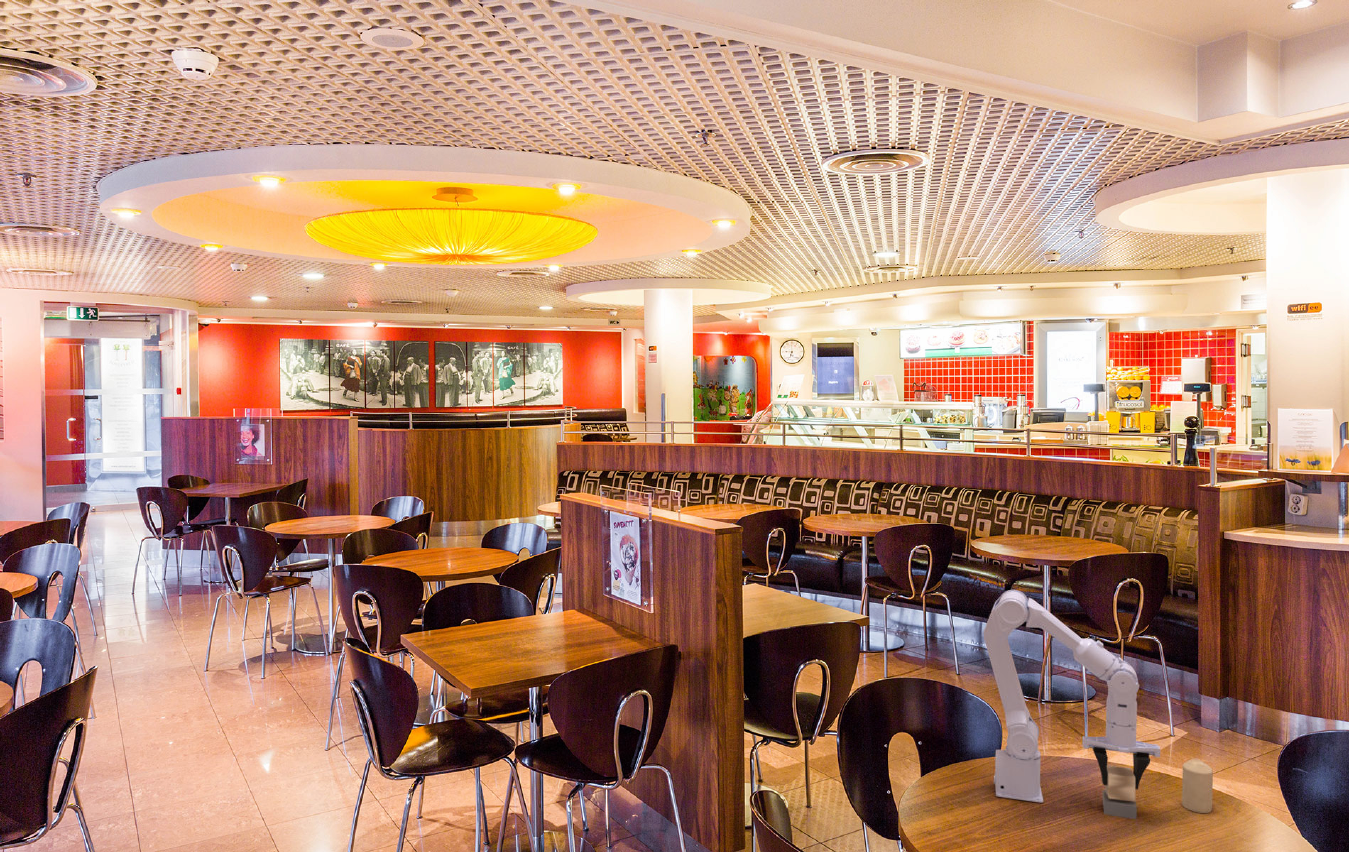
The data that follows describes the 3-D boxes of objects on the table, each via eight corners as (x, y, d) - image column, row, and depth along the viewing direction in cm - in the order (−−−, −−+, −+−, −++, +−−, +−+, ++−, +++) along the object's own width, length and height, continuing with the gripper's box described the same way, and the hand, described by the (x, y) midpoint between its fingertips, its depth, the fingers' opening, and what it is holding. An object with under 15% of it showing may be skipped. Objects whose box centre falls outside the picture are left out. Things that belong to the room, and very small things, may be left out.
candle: (1216, 814, 182) (1217, 767, 182) (1187, 812, 183) (1188, 765, 183) (1205, 802, 187) (1207, 757, 187) (1177, 800, 188) (1178, 754, 188)
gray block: (1104, 815, 182) (1104, 801, 182) (1102, 803, 188) (1103, 789, 187) (1136, 821, 180) (1136, 806, 180) (1134, 808, 185) (1134, 794, 185)
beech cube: (1108, 798, 182) (1108, 774, 182) (1104, 788, 187) (1104, 765, 186) (1135, 801, 180) (1135, 777, 180) (1130, 791, 185) (1130, 768, 185)
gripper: (1086, 724, 181) (1084, 788, 182) (1164, 732, 177) (1162, 798, 177) (1081, 712, 188) (1080, 774, 189) (1156, 720, 184) (1155, 784, 184)
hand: (1119, 785), depth 183 cm, fingers open, 5 cm apart
